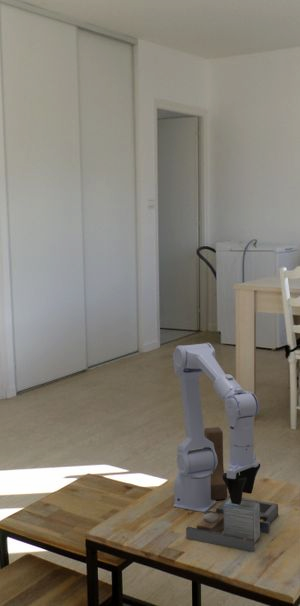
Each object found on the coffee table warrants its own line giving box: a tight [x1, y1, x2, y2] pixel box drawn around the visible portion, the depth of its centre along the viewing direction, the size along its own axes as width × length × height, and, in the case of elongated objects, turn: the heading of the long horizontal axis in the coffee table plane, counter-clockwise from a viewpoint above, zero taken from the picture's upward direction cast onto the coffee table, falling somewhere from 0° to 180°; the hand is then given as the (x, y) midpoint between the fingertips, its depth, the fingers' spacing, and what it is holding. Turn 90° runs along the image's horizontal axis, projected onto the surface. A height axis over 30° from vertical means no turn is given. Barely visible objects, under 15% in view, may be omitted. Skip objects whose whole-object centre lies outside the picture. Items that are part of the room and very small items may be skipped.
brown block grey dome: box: [196, 512, 224, 533], centre depth 185 cm, size 4×9×4 cm, turn 152°
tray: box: [215, 495, 279, 525], centre depth 194 cm, size 13×9×3 cm
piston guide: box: [185, 510, 271, 553], centre depth 183 cm, size 17×13×3 cm
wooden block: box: [204, 427, 228, 501], centre depth 209 cm, size 9×4×18 cm, turn 6°
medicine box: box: [223, 499, 261, 544], centre depth 181 cm, size 8×4×9 cm, turn 65°
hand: (241, 498), depth 181 cm, fingers open, 7 cm apart
